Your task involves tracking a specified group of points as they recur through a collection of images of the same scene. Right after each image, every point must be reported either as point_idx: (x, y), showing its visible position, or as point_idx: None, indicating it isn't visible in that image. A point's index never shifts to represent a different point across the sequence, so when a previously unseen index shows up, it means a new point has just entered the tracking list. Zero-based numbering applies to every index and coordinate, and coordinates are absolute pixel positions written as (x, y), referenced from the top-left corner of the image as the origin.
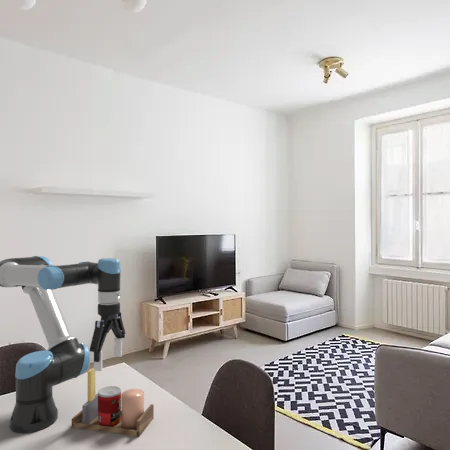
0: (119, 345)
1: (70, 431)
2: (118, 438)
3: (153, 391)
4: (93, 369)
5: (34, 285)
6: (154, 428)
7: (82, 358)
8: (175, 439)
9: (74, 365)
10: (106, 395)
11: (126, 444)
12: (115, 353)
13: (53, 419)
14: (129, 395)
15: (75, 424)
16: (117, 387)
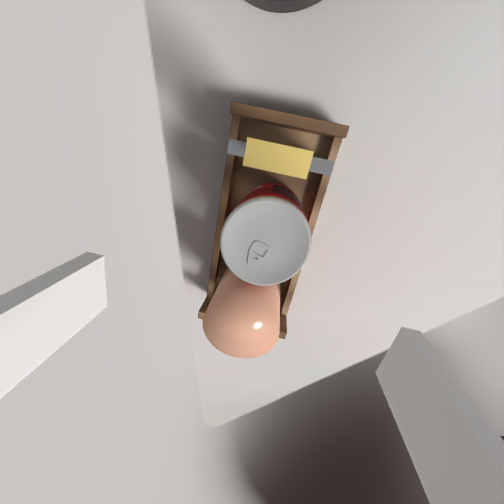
0: (434, 481)
1: (227, 109)
2: (205, 252)
3: (459, 295)
4: (285, 172)
5: None
6: None
7: None
8: (212, 353)
9: None
10: (221, 244)
11: (186, 273)
12: (408, 356)
13: (271, 4)
14: (225, 320)
15: (232, 121)
16: (295, 268)
